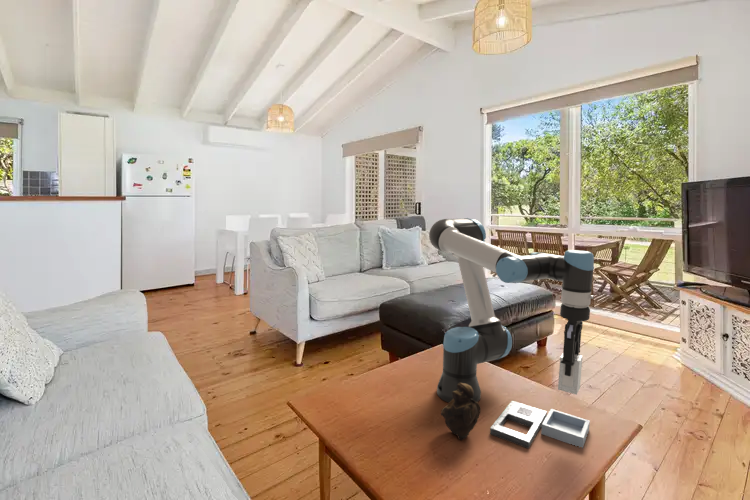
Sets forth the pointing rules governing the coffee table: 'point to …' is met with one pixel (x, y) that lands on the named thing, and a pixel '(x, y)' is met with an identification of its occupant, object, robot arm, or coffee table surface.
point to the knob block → (576, 375)
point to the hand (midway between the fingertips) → (569, 381)
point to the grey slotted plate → (522, 416)
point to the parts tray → (565, 427)
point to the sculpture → (461, 411)
